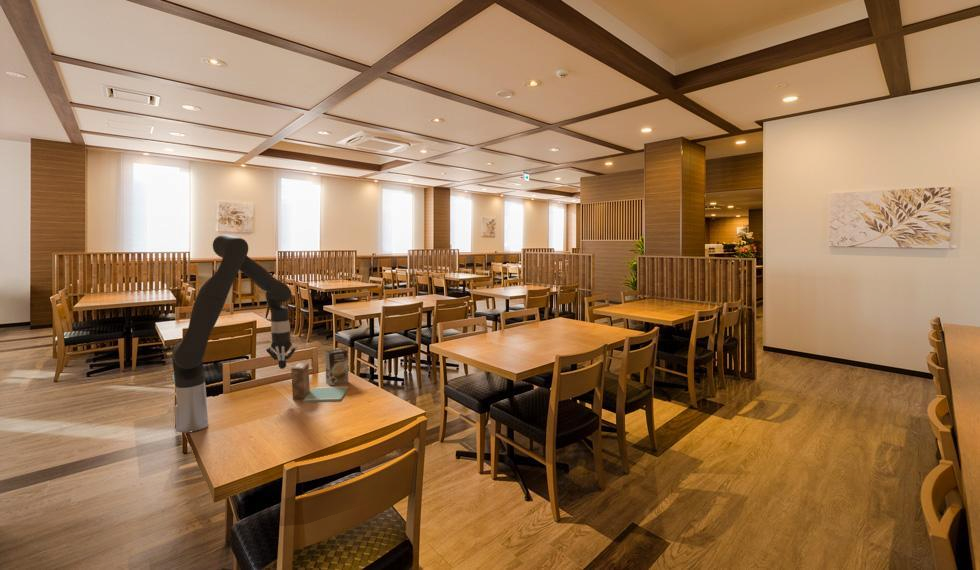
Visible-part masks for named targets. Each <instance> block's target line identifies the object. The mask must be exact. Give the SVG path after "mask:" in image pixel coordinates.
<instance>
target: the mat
mask: <svg viewBox="0 0 980 570" xmlns="http://www.w3.org/2000/svg"><path fill="white" fill-rule="evenodd" d="M348 389H349V386H328V387H327V386H325V387H322V386H321V387H312V388H311V390H310V392H309V394H308V395H307V396H306V397H305V398H304V399H302V402H303V403H317V402H319V403H321V402H340V401H342V399H343V398H344V396H345V395H346V392H347V391H348Z"/></svg>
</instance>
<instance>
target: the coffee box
mask: <svg viewBox="0 0 980 570" xmlns="http://www.w3.org/2000/svg"><path fill="white" fill-rule="evenodd" d="M325 383H326V384H327V385H329V387H332V386H335V385H341V384H345V383H349V351H348V350H347V349H345V348H337V349H331V350H325Z"/></svg>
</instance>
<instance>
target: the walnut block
mask: <svg viewBox="0 0 980 570" xmlns="http://www.w3.org/2000/svg"><path fill="white" fill-rule="evenodd" d="M290 371H291V372H290V373H291V386H292V387H291V389H292V400H304V398H305V397H306V396H307V395H308V394H309V392H310V391H311V390H310V389H311V387H310V367H309V363H308V362H304V363H303V362H302V363H300V362H299V363H296V364H294V365H293V367H291V368H290Z"/></svg>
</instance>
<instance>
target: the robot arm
mask: <svg viewBox="0 0 980 570" xmlns="http://www.w3.org/2000/svg"><path fill="white" fill-rule="evenodd" d="M212 249H213V252H214V254H215V255H217V256H218V257H220V258H222V259H221V262H220V264H219V266H218V268H217V270H216V272H215V273H213V275H212V276H211V277H210V278H209V279H208V280H206V281H205V282H204V283H203V284H202V286H201V287H200V288H199V290H198V293H197V295H196V298H195V300H194V302H193V306H192V309H191V314H190V318H189V319H190V320H189V324H188V327H187V330H186V331H185V332H186V333H185V335H184V337H183V338H182V340H181V341H179V342H178V343H177V344H176V345H174V347H173V349H172V353H171V354H172V355H171V356H172V357H171V359H172V368H173V369H172V370H173V379H174V387H175V388H174V390H175V397H176V398H175V401H176V405H175V406H173V409H174V421H175V432H177V433H178V432H180V433H182V434H186V433H187V434H188V433H189V432H190V431H196V432H198V431H197V430H199V431H201V429H202V430H204V429H206V428H207V427H208V426H209V419H208V418H209V416H208V405H207V400H208V399H207V389H206V377H205V376H206V374H205V369H204V362H203V359H204V357H205V353H206V350H207V346H208V342H209V339H210V336H211V333H212V331H213V329H214V328H215V325H216V324H217V322H218V319H219V317H220V315H221V313H222V310H223V309H224V306H225V304H226V301H227V299H228V296H229V293H230V290H231V288H232V286H233V283H234V281H235V279H236V277H237V274H238V273H239V271H240V272H242V274H244V275H245V276H246V277H247V278H248V279H250V280H251V281H252V282H253V283H254V284H255V285H256V286H258V288H260V290H262V291H264V292H265V299H266V303H267V305H268V308H269V311H270V319H271V320H270V321H271V322H270V329H271V330H270V333H271V344H270V347H268V348H266V350H265V351H266V352H267V354H269V356H270V357H271V358H272V359H273V360H275V361H277V363H278V367H279V369H280V370H281V369H283V370H284V369H285V368H286V367H287V360H289V359H290V358H291V357H292V356H293V354H294V353H295V352H296V350H297V349H298V347H297V346H294V345H293V344H292V341H291V323H290V314H289V308H287V307H286V306H284V305H282V303H285V302H289V301H290V300H291V298H292V295H293V293H292V290H291V289H290V287H288V285H287V284H285V283H284V282H282V281H281V280H279V279H277V278H275V277H274V275H272V274H271V273H270V272H269V271H268V270H267V269H266V268H265V267H263V266H262V265H261V264H259V263H258V262H257V261H255V260H254V259H252V258H250V257H249V256H248V253H249V245H248V242H247V240H246V239H244V238H242V237H238V236H234V235H230V234H220V235H218V236H217V237H214V240H213V242H212ZM289 350H290V352H289V353H288V351H289ZM190 433H191V432H190Z"/></svg>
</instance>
